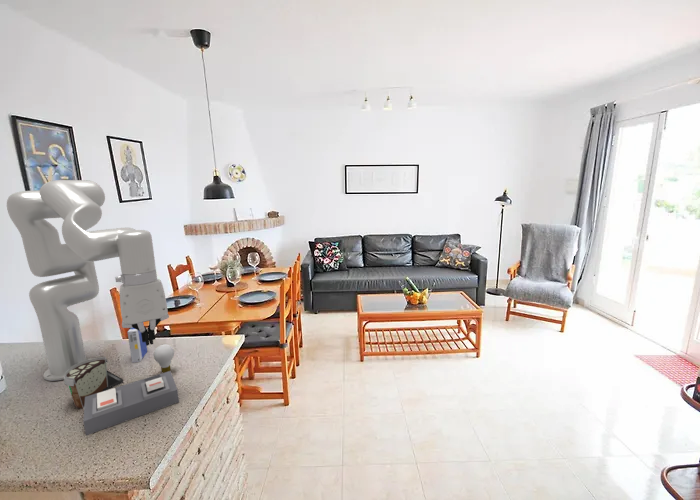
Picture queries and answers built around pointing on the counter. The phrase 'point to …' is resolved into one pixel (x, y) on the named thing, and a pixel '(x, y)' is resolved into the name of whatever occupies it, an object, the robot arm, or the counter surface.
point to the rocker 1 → (106, 399)
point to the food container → (86, 379)
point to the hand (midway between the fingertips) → (149, 343)
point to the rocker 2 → (154, 384)
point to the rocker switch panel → (130, 403)
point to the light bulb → (164, 356)
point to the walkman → (136, 345)
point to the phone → (112, 380)
